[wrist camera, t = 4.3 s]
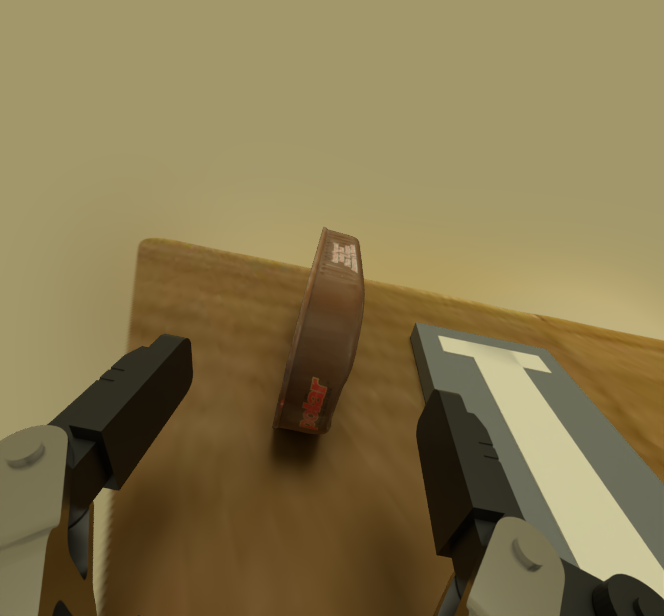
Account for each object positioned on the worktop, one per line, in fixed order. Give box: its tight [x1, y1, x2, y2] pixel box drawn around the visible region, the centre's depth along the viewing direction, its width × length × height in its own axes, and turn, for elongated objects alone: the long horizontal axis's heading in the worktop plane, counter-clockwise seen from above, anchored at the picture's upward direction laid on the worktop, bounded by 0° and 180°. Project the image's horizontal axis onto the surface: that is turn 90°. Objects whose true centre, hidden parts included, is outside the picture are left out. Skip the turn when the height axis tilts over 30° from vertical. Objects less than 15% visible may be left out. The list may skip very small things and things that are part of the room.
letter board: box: [410, 323, 664, 599], centre depth 17 cm, size 11×20×2 cm, turn 175°
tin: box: [272, 227, 365, 434], centre depth 18 cm, size 15×3×8 cm, turn 177°
